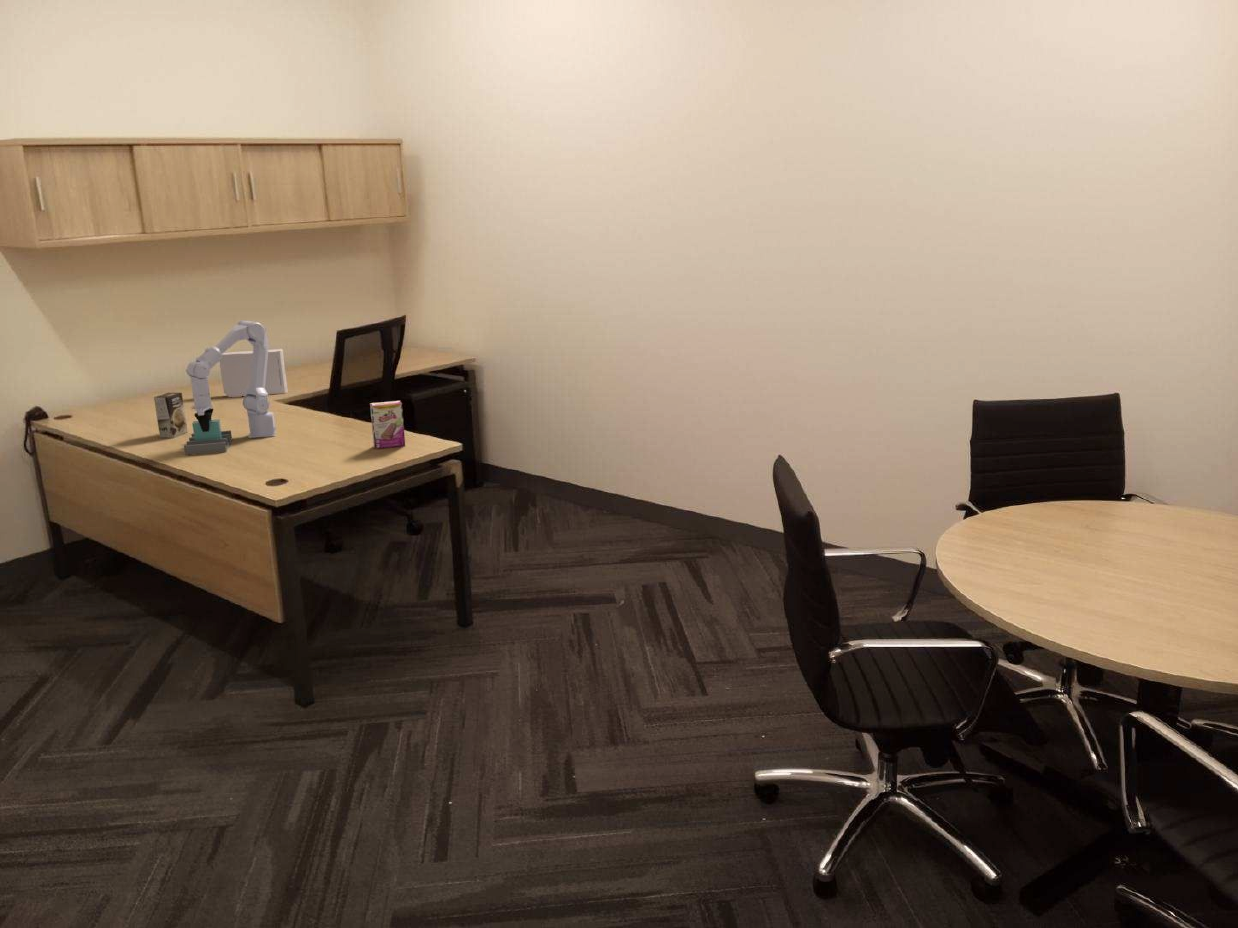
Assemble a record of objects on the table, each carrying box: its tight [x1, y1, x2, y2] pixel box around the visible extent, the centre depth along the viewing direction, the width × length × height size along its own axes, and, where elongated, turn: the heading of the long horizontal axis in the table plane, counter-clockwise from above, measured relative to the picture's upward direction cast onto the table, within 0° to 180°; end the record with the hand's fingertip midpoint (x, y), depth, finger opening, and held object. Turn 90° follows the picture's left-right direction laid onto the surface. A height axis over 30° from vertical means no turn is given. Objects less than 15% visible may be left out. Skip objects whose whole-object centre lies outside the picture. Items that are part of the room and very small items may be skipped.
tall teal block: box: [192, 419, 222, 441], centre depth 358 cm, size 9×4×8 cm, turn 105°
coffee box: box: [153, 392, 189, 439], centre depth 375 cm, size 9×6×16 cm
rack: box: [183, 430, 233, 456], centre depth 359 cm, size 14×19×4 cm
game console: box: [218, 348, 289, 398], centre depth 442 cm, size 6×27×20 cm, turn 106°
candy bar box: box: [369, 400, 406, 450], centre depth 353 cm, size 11×5×16 cm, turn 110°
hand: (206, 430), depth 357 cm, fingers closed on tall teal block, 3 cm apart
